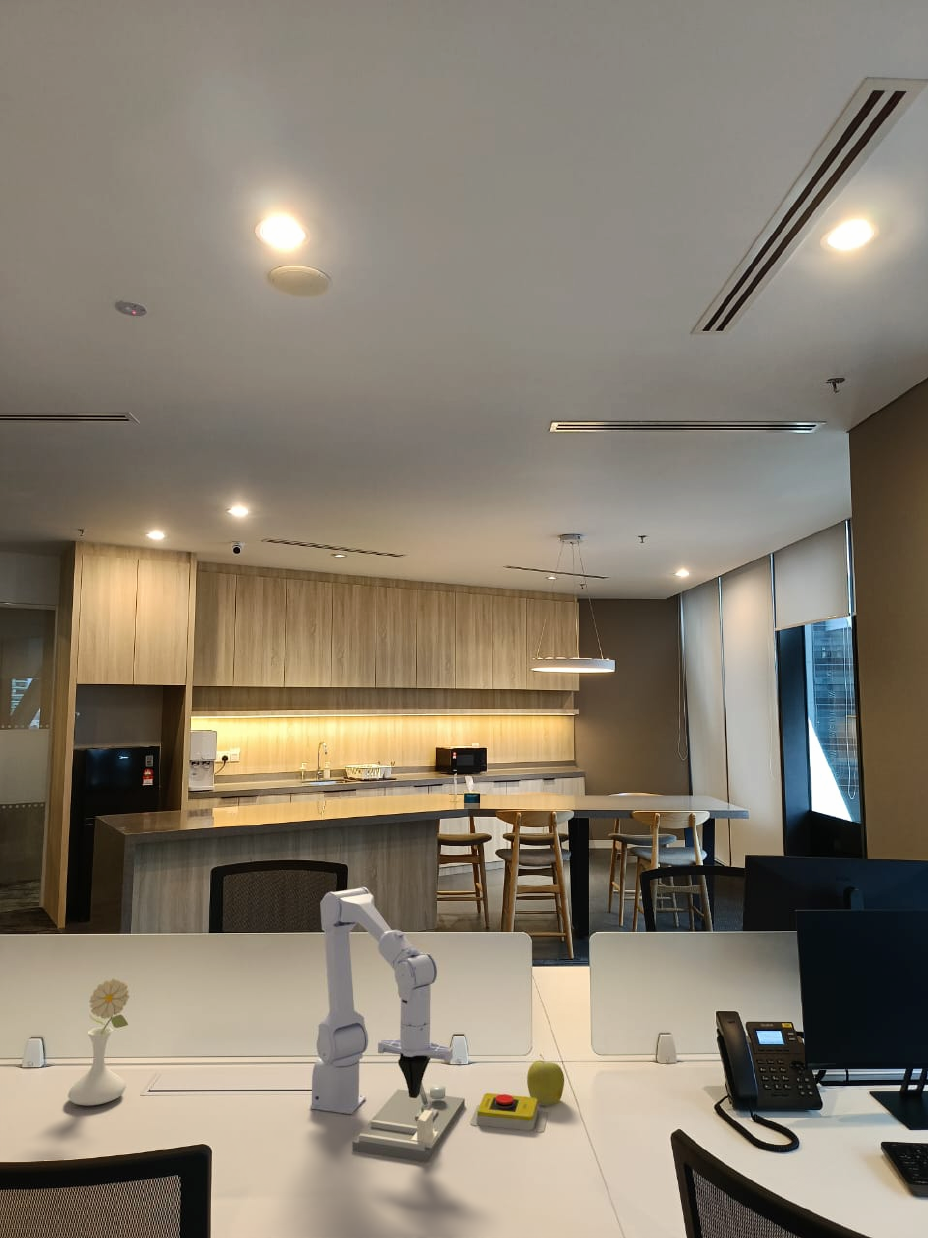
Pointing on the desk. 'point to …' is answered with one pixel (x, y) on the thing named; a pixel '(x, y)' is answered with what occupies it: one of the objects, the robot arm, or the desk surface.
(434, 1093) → the push button
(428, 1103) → the toggle lever
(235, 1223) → the desk surface
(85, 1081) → the flower in vase
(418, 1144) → the grey base plate
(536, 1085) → the apple
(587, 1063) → the desk surface
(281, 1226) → the desk surface
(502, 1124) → the emergency button
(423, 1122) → the paddle slider
